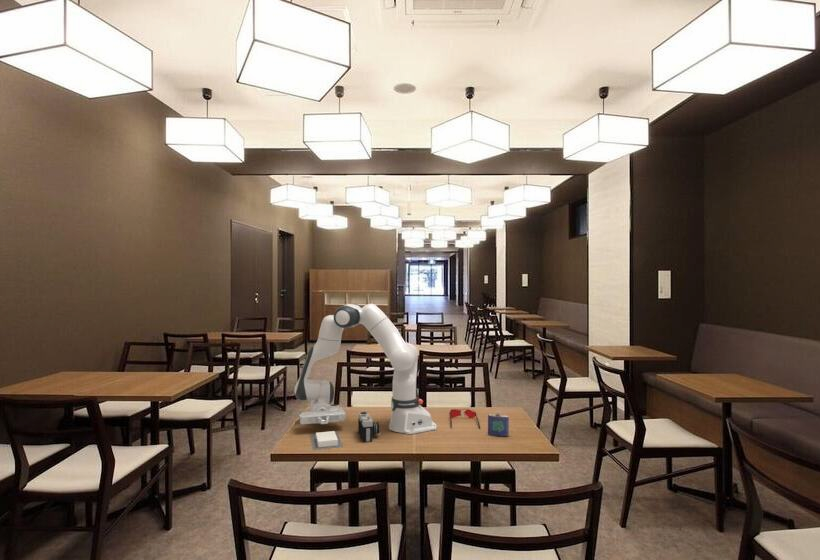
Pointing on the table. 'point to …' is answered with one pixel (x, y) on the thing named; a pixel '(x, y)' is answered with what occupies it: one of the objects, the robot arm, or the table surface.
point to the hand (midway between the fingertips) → (324, 422)
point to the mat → (315, 447)
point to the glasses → (469, 413)
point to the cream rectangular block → (326, 439)
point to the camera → (367, 427)
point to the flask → (498, 425)
